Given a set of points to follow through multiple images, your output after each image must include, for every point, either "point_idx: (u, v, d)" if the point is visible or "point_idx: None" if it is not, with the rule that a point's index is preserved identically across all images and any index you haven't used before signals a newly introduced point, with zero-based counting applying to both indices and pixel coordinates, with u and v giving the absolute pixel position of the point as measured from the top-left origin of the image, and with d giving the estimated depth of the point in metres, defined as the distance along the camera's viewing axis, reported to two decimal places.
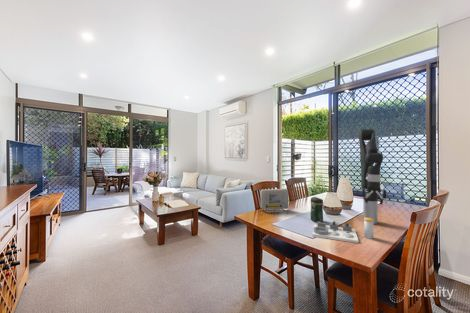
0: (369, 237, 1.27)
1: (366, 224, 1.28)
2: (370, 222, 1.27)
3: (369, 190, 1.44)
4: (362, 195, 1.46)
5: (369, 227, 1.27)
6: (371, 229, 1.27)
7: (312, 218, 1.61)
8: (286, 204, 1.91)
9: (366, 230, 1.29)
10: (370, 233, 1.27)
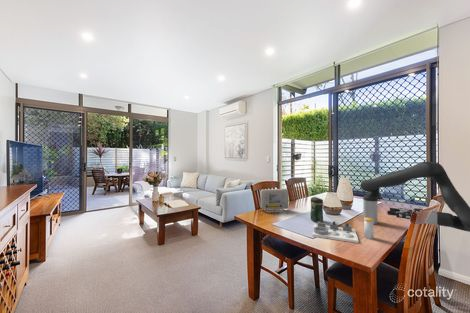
0: (369, 237, 1.27)
1: (366, 224, 1.28)
2: (370, 222, 1.27)
3: None
4: (398, 217, 1.13)
5: (369, 227, 1.27)
6: (371, 229, 1.27)
7: (312, 218, 1.61)
8: (286, 204, 1.91)
9: (366, 230, 1.29)
10: (370, 233, 1.27)
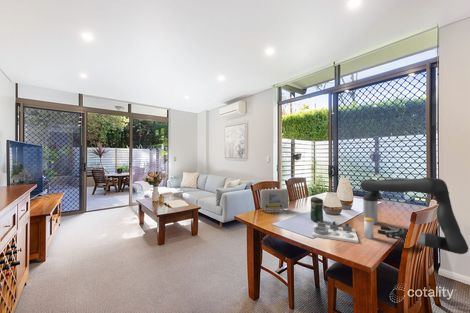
0: (369, 237, 1.27)
1: (366, 224, 1.28)
2: (370, 222, 1.27)
3: None
4: (388, 237, 1.17)
5: (369, 227, 1.27)
6: (371, 229, 1.27)
7: (312, 218, 1.61)
8: (286, 204, 1.91)
9: (366, 230, 1.29)
10: (370, 233, 1.27)
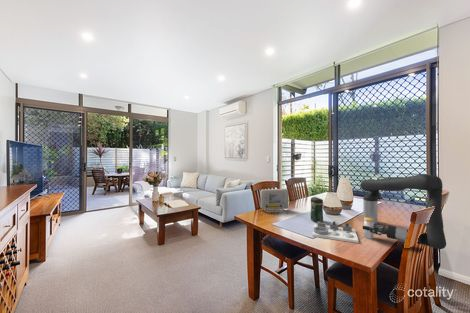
0: (369, 237, 1.27)
1: (366, 224, 1.28)
2: (370, 222, 1.27)
3: None
4: (371, 232, 1.24)
5: None
6: None
7: (312, 218, 1.61)
8: (286, 204, 1.91)
9: (366, 230, 1.29)
10: (370, 233, 1.27)
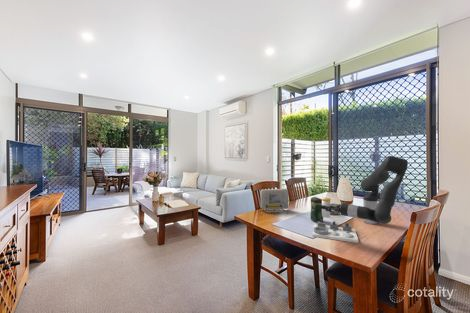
0: (325, 216, 1.32)
1: (323, 203, 1.33)
2: (326, 201, 1.32)
3: (336, 211, 1.27)
4: (326, 210, 1.28)
5: None
6: None
7: (312, 218, 1.61)
8: (286, 204, 1.91)
9: (323, 209, 1.33)
10: (326, 212, 1.32)
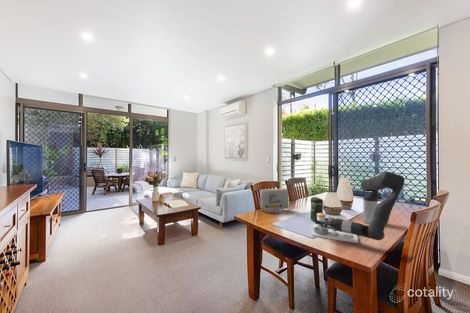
0: None
1: (318, 219, 1.34)
2: (321, 217, 1.33)
3: None
4: (321, 226, 1.28)
5: None
6: None
7: (312, 218, 1.61)
8: (286, 204, 1.91)
9: (318, 225, 1.34)
10: (321, 228, 1.33)
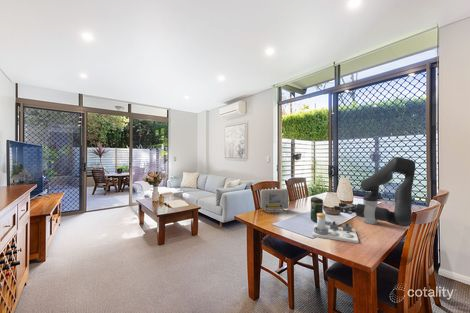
0: None
1: (318, 219, 1.34)
2: (321, 217, 1.33)
3: None
4: (342, 212, 1.20)
5: (321, 222, 1.33)
6: (322, 224, 1.33)
7: (312, 218, 1.61)
8: (286, 204, 1.91)
9: (318, 225, 1.34)
10: (321, 228, 1.33)
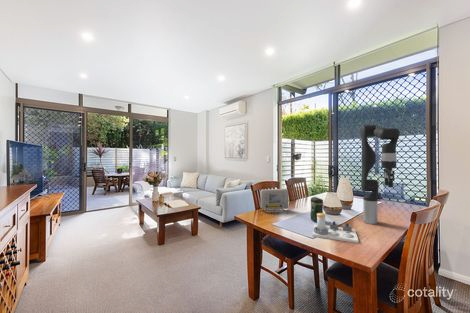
0: None
1: (318, 219, 1.34)
2: (321, 217, 1.33)
3: None
4: (394, 179, 1.20)
5: (320, 222, 1.33)
6: (322, 224, 1.33)
7: (312, 218, 1.61)
8: (286, 204, 1.91)
9: (318, 225, 1.34)
10: (321, 228, 1.33)
